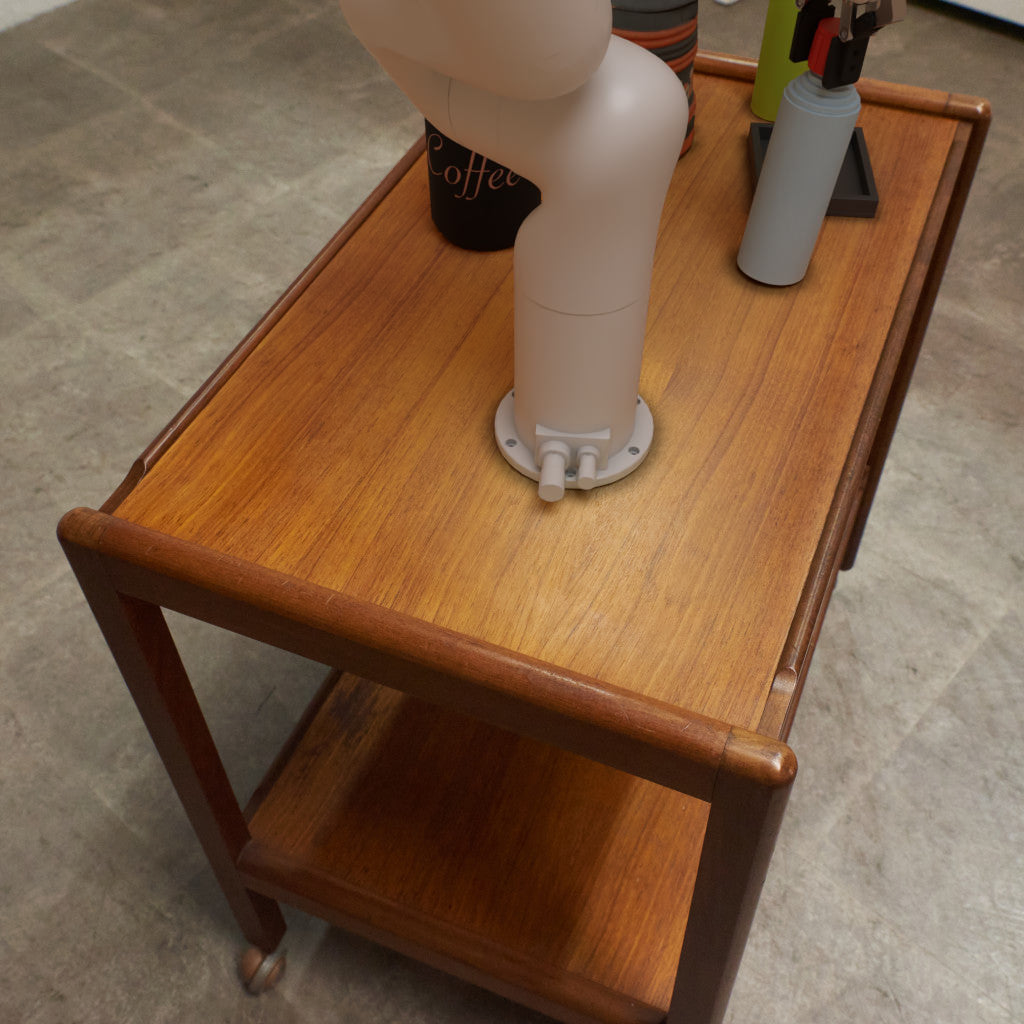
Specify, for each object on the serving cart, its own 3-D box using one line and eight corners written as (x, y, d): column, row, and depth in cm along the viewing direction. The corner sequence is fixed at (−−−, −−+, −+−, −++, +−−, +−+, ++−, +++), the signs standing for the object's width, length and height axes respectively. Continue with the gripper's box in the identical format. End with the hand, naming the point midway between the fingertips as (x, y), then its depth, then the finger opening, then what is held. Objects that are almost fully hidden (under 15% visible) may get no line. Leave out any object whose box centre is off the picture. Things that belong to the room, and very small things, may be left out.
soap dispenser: (812, 97, 119) (855, -96, 104) (796, 127, 115) (838, -70, 100) (761, 87, 121) (796, -105, 106) (744, 115, 117) (777, -80, 102)
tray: (874, 218, 104) (879, 200, 103) (754, 212, 105) (758, 194, 103) (857, 144, 113) (862, 127, 112) (747, 139, 114) (750, 122, 112)
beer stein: (498, 148, 113) (495, -50, 98) (546, 84, 122) (551, -107, 106) (671, 185, 108) (696, -18, 93) (708, 115, 117) (737, -80, 102)
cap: (801, 70, 85) (813, 28, 82) (814, 54, 87) (826, 12, 85) (849, 84, 84) (862, 41, 81) (861, 67, 86) (874, 25, 84)
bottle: (808, 289, 96) (888, 58, 81) (738, 280, 96) (805, 47, 81) (801, 251, 101) (875, 25, 86) (734, 242, 101) (796, 15, 86)
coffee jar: (412, 239, 102) (396, 56, 88) (462, 182, 108) (454, 3, 95) (512, 267, 99) (512, 82, 86) (558, 208, 105) (564, 27, 92)
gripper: (1010, -160, 67) (926, 111, 81) (856, -233, 77) (804, 19, 91) (913, -143, 66) (843, 131, 79) (767, -220, 76) (728, 35, 90)
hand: (823, 69), depth 85 cm, fingers closed on cap, 3 cm apart
